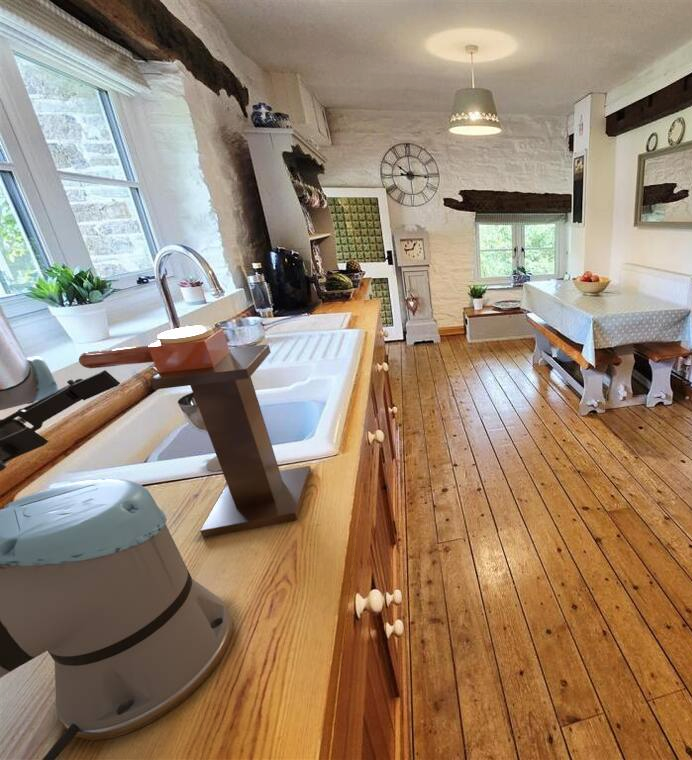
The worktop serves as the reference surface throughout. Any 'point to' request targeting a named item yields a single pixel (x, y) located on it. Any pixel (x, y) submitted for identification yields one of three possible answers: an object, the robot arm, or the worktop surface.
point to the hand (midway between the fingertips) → (77, 404)
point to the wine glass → (196, 422)
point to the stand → (241, 444)
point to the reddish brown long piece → (168, 351)
